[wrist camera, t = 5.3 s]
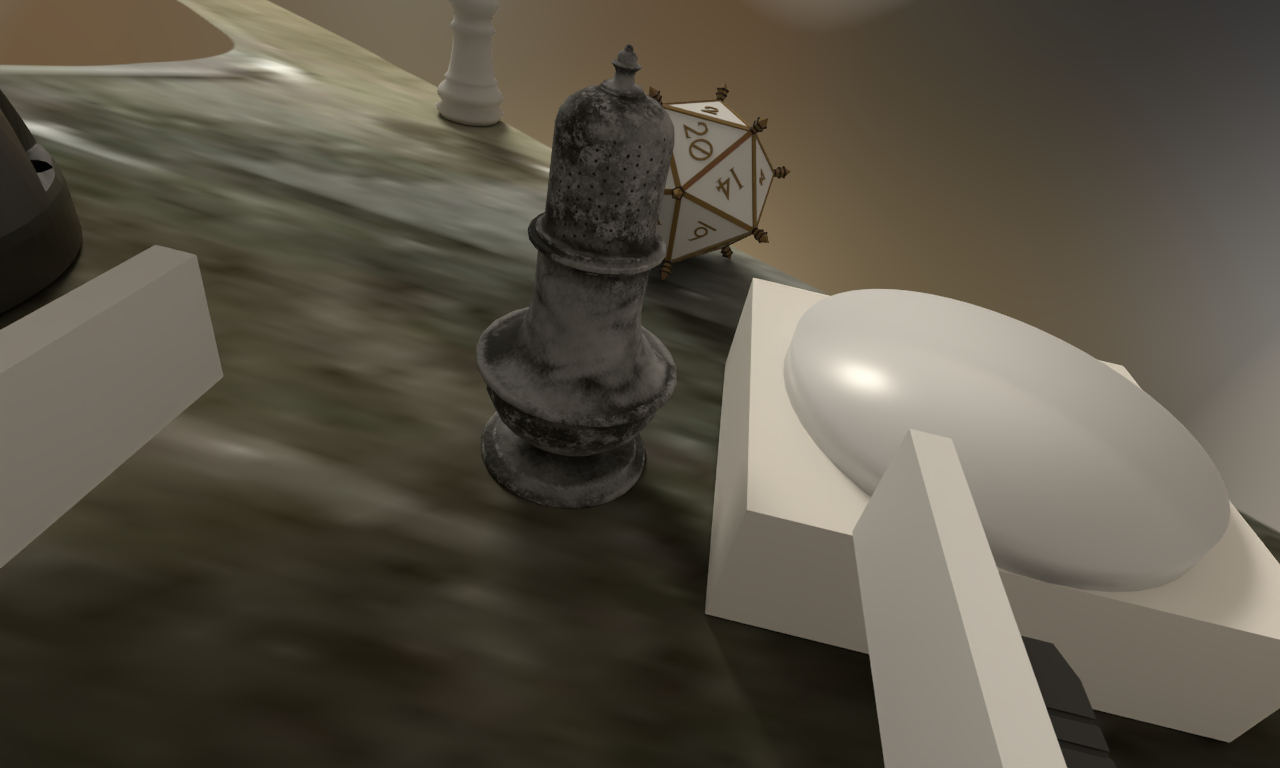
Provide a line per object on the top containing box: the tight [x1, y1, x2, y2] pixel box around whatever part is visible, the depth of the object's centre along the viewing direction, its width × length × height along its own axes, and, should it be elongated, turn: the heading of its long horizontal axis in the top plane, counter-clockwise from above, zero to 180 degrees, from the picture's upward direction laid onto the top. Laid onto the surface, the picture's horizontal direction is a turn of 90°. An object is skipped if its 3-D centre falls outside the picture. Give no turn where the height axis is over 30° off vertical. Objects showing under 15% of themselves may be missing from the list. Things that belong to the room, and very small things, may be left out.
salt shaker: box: [476, 45, 677, 508], centre depth 18 cm, size 6×6×12 cm
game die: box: [649, 84, 790, 281], centre depth 32 cm, size 9×8×10 cm
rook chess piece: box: [436, 0, 503, 126], centre depth 44 cm, size 4×4×8 cm
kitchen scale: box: [705, 278, 1280, 743], centre depth 21 cm, size 14×12×5 cm
